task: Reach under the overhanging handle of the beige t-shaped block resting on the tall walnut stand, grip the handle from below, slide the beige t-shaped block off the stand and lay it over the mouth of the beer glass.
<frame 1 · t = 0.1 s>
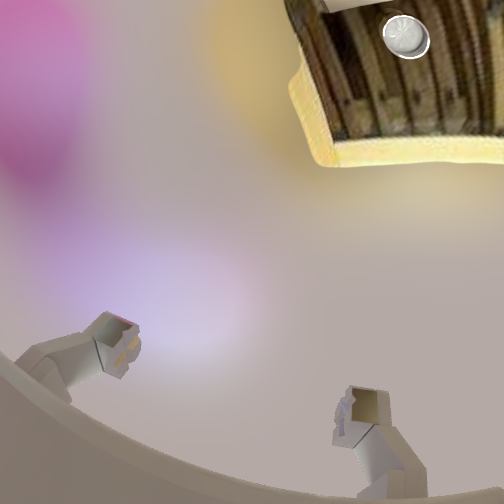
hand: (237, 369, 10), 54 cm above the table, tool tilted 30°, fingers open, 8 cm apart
beer glass: (392, 22, 35), on the table
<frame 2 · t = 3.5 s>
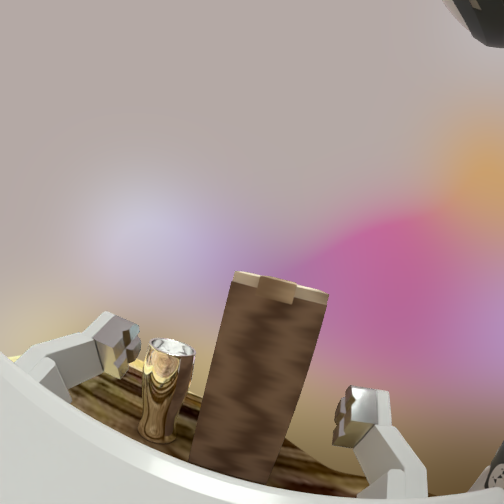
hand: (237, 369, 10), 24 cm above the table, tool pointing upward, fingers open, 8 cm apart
beer glass: (156, 433, 38), on the table
beige t-shaped block: (281, 291, 39), point 26 cm above the table, touching stand
stand: (234, 452, 38), on the table
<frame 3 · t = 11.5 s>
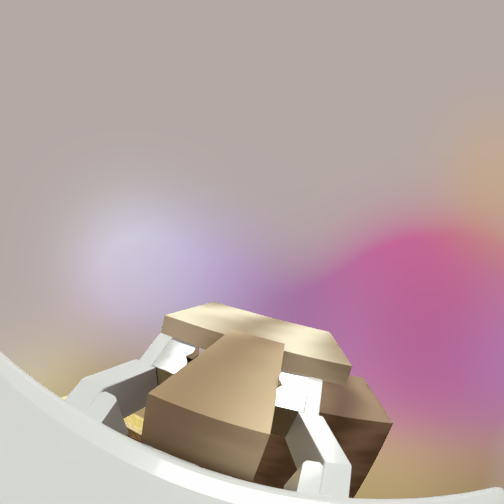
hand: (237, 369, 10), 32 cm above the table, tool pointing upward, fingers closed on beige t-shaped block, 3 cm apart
beige t-shaped block: (261, 342, 21), point 30 cm above the table, touching gripper
when the fingers open (18 cm above the table, at t = 15.5 s): beige t-shaped block drops 2 cm, resting on beer glass.
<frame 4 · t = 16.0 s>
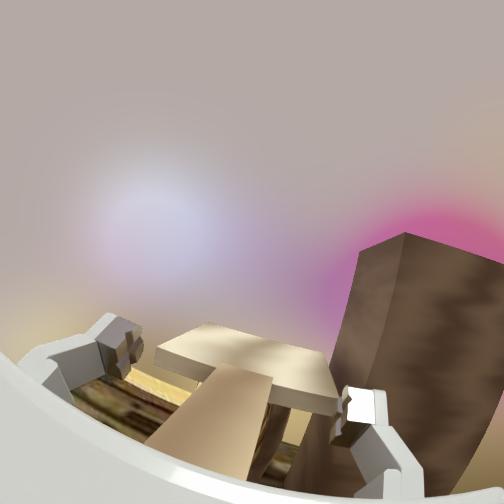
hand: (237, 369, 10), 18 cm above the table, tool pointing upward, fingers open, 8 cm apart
beige t-shaped block: (253, 367, 21), point 15 cm above the table, touching beer glass
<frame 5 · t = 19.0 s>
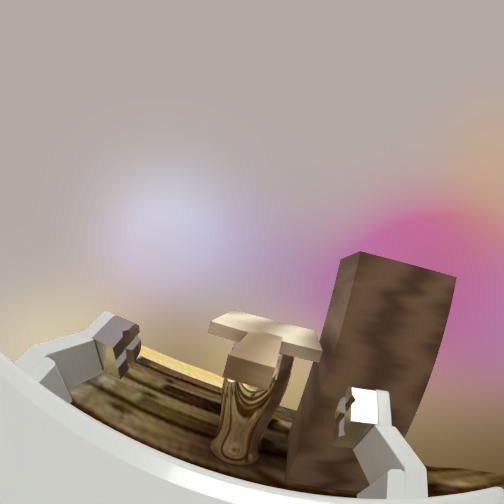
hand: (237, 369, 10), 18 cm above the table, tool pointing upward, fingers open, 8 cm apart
beer glass: (234, 452, 30), on the table, touching beige t-shaped block
beige t-shaped block: (268, 337, 33), point 15 cm above the table, touching beer glass
stand: (327, 462, 30), on the table
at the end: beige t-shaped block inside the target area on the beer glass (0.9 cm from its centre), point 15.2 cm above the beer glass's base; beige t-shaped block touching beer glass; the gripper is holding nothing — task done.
